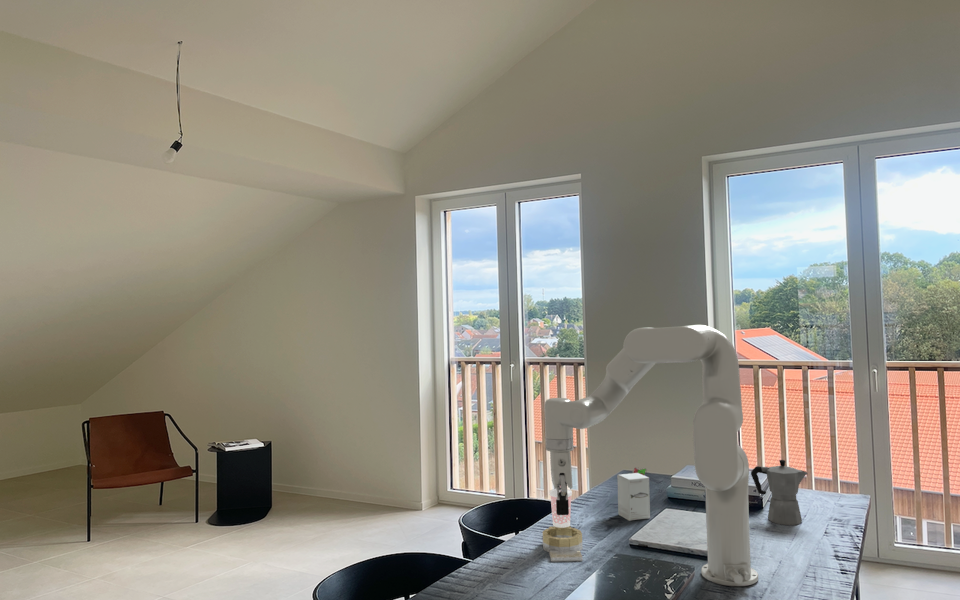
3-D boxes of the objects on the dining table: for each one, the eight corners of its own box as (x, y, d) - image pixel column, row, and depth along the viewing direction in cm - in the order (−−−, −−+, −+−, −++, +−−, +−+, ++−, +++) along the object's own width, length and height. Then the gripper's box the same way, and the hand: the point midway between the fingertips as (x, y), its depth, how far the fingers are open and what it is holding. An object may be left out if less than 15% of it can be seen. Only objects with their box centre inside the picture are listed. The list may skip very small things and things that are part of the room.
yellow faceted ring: (584, 554, 173) (584, 538, 173) (544, 555, 173) (544, 539, 173) (576, 535, 188) (576, 520, 188) (540, 535, 188) (540, 521, 189)
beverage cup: (555, 520, 183) (554, 469, 183) (576, 523, 180) (575, 471, 180) (546, 526, 178) (545, 474, 178) (567, 529, 174) (566, 476, 175)
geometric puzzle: (657, 481, 237) (647, 461, 241) (644, 484, 234) (633, 464, 238) (646, 490, 242) (636, 470, 246) (632, 493, 238) (622, 473, 243)
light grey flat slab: (587, 560, 168) (587, 552, 168) (546, 561, 168) (546, 553, 168) (579, 540, 183) (579, 533, 184) (541, 541, 184) (541, 534, 184)
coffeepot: (808, 518, 198) (806, 457, 198) (810, 527, 189) (807, 464, 190) (753, 513, 204) (750, 455, 204) (752, 522, 195) (750, 461, 196)
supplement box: (629, 521, 199) (627, 479, 200) (617, 514, 207) (616, 474, 207) (651, 518, 201) (649, 477, 202) (639, 512, 209) (637, 471, 209)
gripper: (577, 450, 170) (579, 520, 170) (569, 438, 188) (571, 501, 187) (548, 450, 171) (550, 521, 170) (543, 438, 188) (544, 502, 187)
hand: (561, 510), depth 179 cm, fingers closed on beverage cup, 6 cm apart
